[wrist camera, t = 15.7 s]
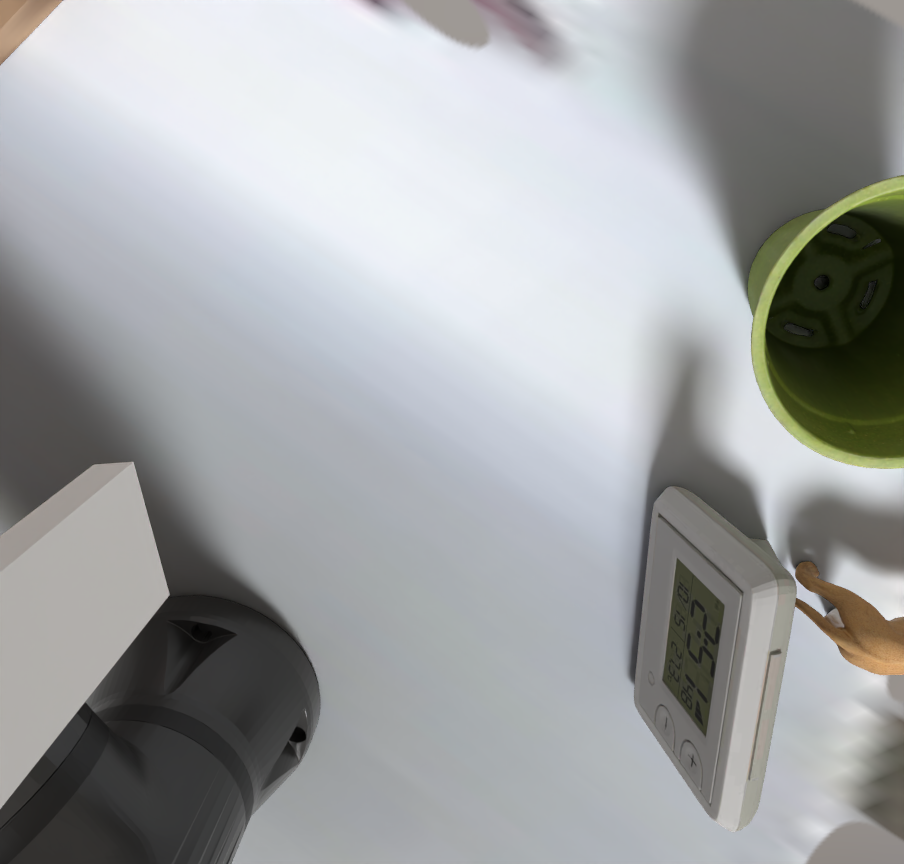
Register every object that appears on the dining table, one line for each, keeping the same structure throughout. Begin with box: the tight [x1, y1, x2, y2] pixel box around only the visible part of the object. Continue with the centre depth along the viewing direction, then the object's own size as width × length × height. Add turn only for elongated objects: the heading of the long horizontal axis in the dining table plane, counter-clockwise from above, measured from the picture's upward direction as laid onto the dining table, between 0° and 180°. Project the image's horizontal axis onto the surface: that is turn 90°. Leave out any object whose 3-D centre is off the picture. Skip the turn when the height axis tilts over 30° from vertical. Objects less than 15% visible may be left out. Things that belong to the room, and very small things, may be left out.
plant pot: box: [748, 175, 904, 469], centre depth 37 cm, size 12×12×11 cm
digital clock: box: [634, 486, 797, 832], centre depth 45 cm, size 16×9×11 cm, turn 168°
